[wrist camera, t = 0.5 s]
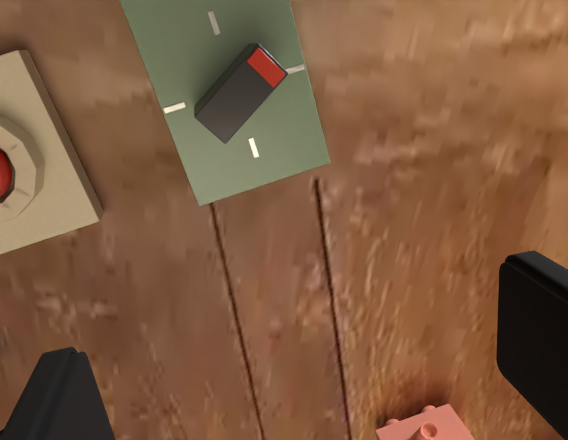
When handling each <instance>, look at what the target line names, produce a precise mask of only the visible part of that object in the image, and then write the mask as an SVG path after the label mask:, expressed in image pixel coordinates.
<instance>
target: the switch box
mask: <svg viewBox="0 0 568 440" xmlns="http://www.w3.org/2000/svg"><path fill="white" fill-rule="evenodd" d="M0 152H1V153H2V154H3V155H4V156H5V157H6V159H7V160H8V162H9V164H10V167H11V171H12V181H11V185H10V187H9V189H8V190H7V192H6V193H5V194H4V195H3V196H1V197H0V254H3V253H6V252H9V251H12V250H15V249H18V248H21V247H24V246H27V245H30V244H33V243H36V242H39V241H42V240H45V239H48V238H51V237H54V236H57V235H60V234H63V233H66V232H69V231H72V230H75V229H78V228H81V227H84V226H87V225H90V224H93V223H96V222H99V221H100V219H101V217H102V215H103V214H104V211H103V209H102V206H101V204H100V202H99V200H98V198H97V196H96V194H95V192H94V189H93V187H92V185H91V183H90V181H89V179H88V177H87V175H86V172H85V170H84V168H83V166H82V164H81V162H80V160H79V158H78V155H77V153H76V151H75V149H74V147H73V145H72V143H71V141H70V138H69V136H68V134H67V132H66V130H65V128H64V126H63V124H62V121H61V119H60V117H59V115H58V113H57V111H56V109H55V107H54V104H53V102H52V100H51V98H50V96H49V94H48V92H47V90H46V87H45V85H44V83H43V81H42V79H41V77H40V75H39V73H38V70H37V68H36V66H35V64H34V62H33V60H32V58H31V56H30V53H29V51H28V50H16V51H12V52H9V53H6V54H3V55H0Z"/></svg>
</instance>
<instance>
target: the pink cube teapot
mask: <svg viewBox="0 0 568 440" xmlns="http://www.w3.org/2000/svg"><path fill="white" fill-rule="evenodd" d="M376 433H377V437H378V440H475V439H474V438H473V437H472V435H471V434H470V432H469V431H468V430H467V428H466V427H465V425H464V424H463V423H462V421H461V420H460V418H459V417H458V416H457V414H456V413H455V411H454V410H453V409H452V407H451V406H450V404H446V405H443V406H440V407H437V408H435V407H434V406H431V405H430V406H426V407H424V408H423V409H422V411H421V414H418V415H415V416H413V417H410V418H407V419H404V420H402V421H398V420H397V419H390V420H388V421H387V422H386V423H385V425H384V427H382V428H380V429H377V430H376Z"/></svg>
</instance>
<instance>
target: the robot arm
mask: <svg viewBox="0 0 568 440" xmlns="http://www.w3.org/2000/svg"><path fill="white" fill-rule="evenodd" d="M497 364H498V367H499V370H500V372H501V373H502V375H503V376H504V377H505V378H506V379H507V380H508V381H509V382H510V383H511V384H512V385H513V386H514V387H515V388H516V390H517V391H518V392H519V393H520V394H521V395H522V396H523V397H524V398H525V399H526V400H527V401H528V402H529V403H530V404H531V405H532V406H533V407H534V408H535V409H536V410H537V411H538V413H539V414H540V415H541V416H542V417H543V418H544V419H545V420H546V421H547V422H548V423H549V424H550V425H551V426H552V427H553V428H554V429H555V430H556V431H557V432H558V433H559V434H560V436H561V437H562V438H563V439H564V440H568V269H566V268H564V267H562V266H561V265H559V264H557V263H555V262H554V261H552V260H550V259H549V258H547V257H545V256H543V255H542V254H540V253H538V252H536V251H528V252H523V253H519V254H514V255H509V256H508V257H507V258H506V260H505V263H503V264H501V266H500V270H499V297H498V329H497ZM0 440H115V437H114V434H113V431H112V428H111V425H110V422H109V419H108V416H107V413H106V410H105V407H104V404H103V401H102V398H101V395H100V392H99V389H98V387H97V384H96V381H95V378H94V375H93V372H92V369H91V366H90V363H89V360H88V357H87V355H86V353H85V352H80V353H77V351H76V349H75V348H73V347H70V348H65V349H60V350H55V351H50V352H46V353H43V354H42V355H41V357H40V359H39V361H38V363H37V365H36V367H35V369H34V371H33V373H32V375H31V377H30V379H29V381H28V383H27V385H26V387H25V389H24V391H23V393H22V395H21V397H20V399H19V400H18V402H17V404H16V406H15V408H14V410H13V412H12V414H11V416H10V418H9V420H8V422H7V424H6V426H5V428H4V429H3V430H1V431H0Z"/></svg>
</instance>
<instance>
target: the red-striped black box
mask: <svg viewBox="0 0 568 440" xmlns="http://www.w3.org/2000/svg"><path fill="white" fill-rule="evenodd" d="M287 75H288V72H287V71H286V70H285V69H284V68H283V67H282V66H281V65H280V64H279V63H278V62H277V61H276V60H275V59H274V58H273V57H272V56H271V55H270V54H269V53H268V52H267V51H266V50H265V49H264V48H263V47H262V46H261V45H260V44H259V43H249V44H248V45H247V46H246V47H245V49H244V50H243V51H242V52H241V53H240V54H239V55H238V57H237V58H236V59H235V60H234V61H233V62H232V64H231V65H230V66H229V67H228V68H227V69H226V70H225V72H224V73H223V74H222V75H221V76H220V77H219V78H218V80H217V81H216V82H215V83H214V84H213V85H212V86H211V88H210V89H209V90H208V91H207V92H206V93H205V95H204V96H203V97H202V98H201V99H200V100H199V101H198V103H197V104H196V105H195V106H194V117H195V118H196V119H197V120H198V121H199V122H200V123H201V124H203V125H204V126H205V127H206V128H207V129H208V130H209V131H211V132H212V133H213V134H214V135H215V136H216V137H217V138H219V139H220V140H221V141H222V142H223V143H224V144H226V143H227V142H228V141H229V140H230V139H231V138H232V137H233V135H234V134H235V133H236V132H237V131H238V130H239V129H240V128H241V126H242V125H243V124H244V123H245V122H246V121H247V120H248V119H249V118H250V116H251V115H252V114H253V113H254V112H255V111H256V110H257V109H258V107H259V106H260V105H261V104H262V103H263V102H264V101H265V100H266V99H267V97H268V96H269V95H270V94H271V93H272V92H273V91H274V90H275V89H276V87H277V86H278V85H279V84H280V83H281V82H282V81H283V80H284V78H285V77H286V76H287Z"/></svg>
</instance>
